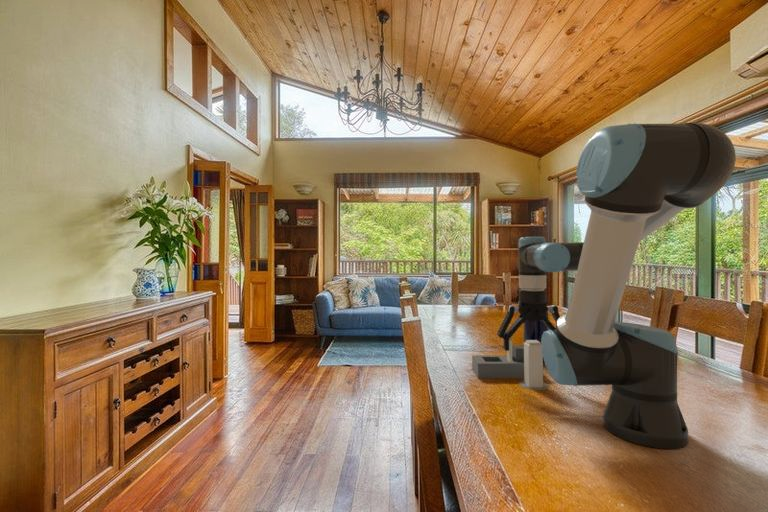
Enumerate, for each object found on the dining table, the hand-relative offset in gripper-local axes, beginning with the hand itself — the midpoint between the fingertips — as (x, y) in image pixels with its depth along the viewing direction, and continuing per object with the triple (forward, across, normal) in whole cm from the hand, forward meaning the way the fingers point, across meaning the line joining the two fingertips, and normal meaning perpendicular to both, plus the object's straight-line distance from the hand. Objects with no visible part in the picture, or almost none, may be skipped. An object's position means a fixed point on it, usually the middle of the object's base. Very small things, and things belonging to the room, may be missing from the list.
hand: (533, 361), depth 108 cm
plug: (+7, 0, 0) cm, 7 cm away
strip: (+7, +5, -10) cm, 13 cm away
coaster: (+7, 0, 0) cm, 7 cm away
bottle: (+8, -10, -25) cm, 28 cm away
